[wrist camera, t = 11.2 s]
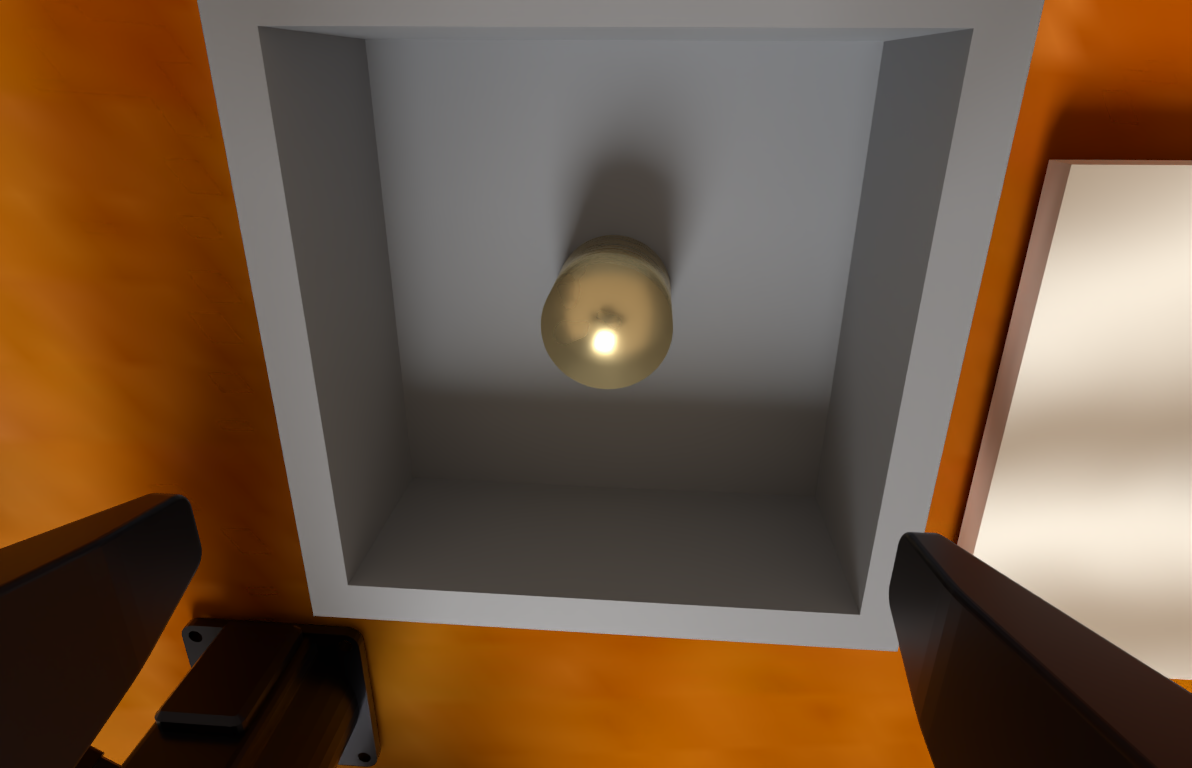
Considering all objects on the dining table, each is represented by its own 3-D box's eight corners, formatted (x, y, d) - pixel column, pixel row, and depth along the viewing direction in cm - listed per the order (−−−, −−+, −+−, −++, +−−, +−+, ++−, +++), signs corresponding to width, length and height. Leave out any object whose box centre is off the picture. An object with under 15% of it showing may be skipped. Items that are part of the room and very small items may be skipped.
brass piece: (667, 346, 19) (669, 391, 17) (558, 343, 20) (542, 386, 17) (673, 236, 18) (676, 265, 15) (556, 233, 18) (538, 261, 16)
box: (837, 508, 22) (897, 651, 17) (395, 487, 23) (313, 616, 18) (922, -5, 17) (1054, -44, 11) (335, -5, 18) (189, -41, 12)
